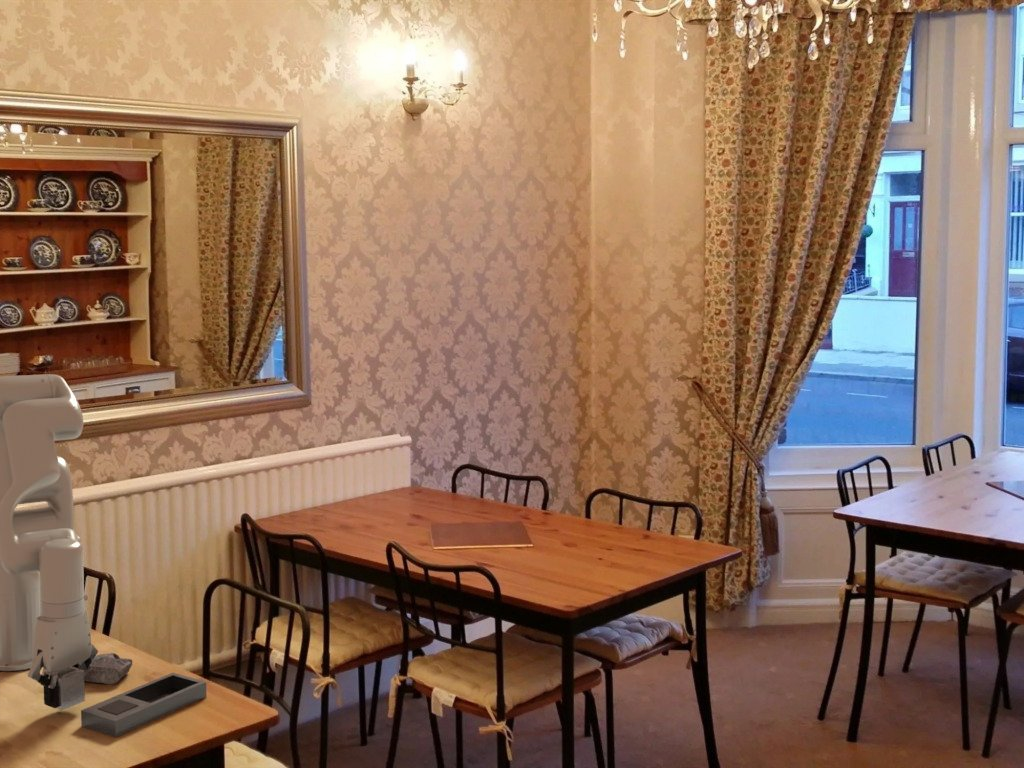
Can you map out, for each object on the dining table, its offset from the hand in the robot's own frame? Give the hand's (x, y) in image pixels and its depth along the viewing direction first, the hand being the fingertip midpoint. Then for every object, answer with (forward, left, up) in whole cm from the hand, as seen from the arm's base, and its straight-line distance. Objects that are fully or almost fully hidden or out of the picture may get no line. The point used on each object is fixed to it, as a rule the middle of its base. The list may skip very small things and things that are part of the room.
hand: (64, 699), depth 217 cm
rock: (-8, +16, -3) cm, 18 cm away
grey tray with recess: (+12, +9, -3) cm, 15 cm away
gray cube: (0, 0, -1) cm, 1 cm away
